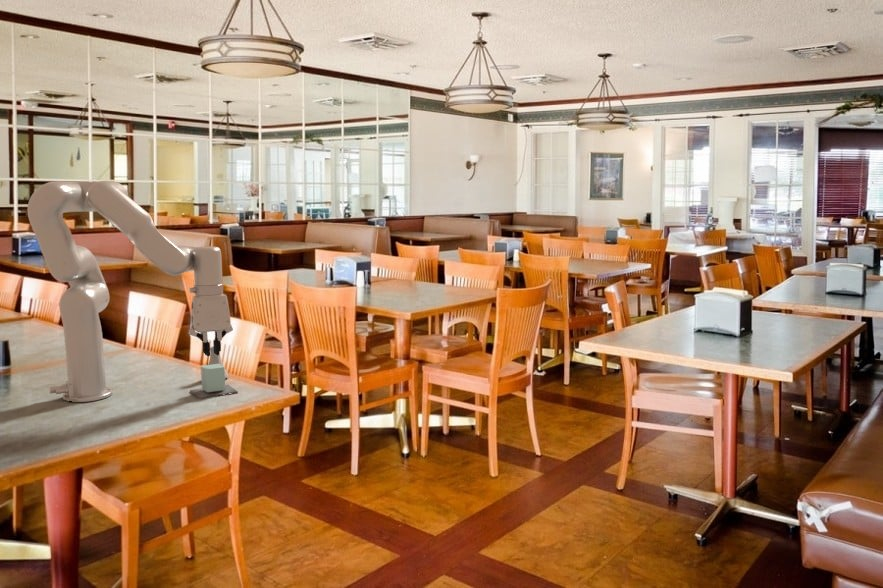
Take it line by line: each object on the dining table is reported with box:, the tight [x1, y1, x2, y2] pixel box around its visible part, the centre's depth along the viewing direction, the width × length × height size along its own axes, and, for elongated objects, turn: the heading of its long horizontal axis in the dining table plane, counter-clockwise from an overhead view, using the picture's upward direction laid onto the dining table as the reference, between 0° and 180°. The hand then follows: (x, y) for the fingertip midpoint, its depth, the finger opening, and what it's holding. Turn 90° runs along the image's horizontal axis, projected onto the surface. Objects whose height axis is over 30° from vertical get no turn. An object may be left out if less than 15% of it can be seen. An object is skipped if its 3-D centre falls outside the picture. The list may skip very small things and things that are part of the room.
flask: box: [208, 345, 229, 379], centre depth 232 cm, size 7×7×10 cm
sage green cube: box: [200, 364, 226, 392], centre depth 217 cm, size 5×5×7 cm
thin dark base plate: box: [189, 384, 239, 400], centre depth 217 cm, size 11×9×7 cm
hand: (212, 354), depth 216 cm, fingers closed
